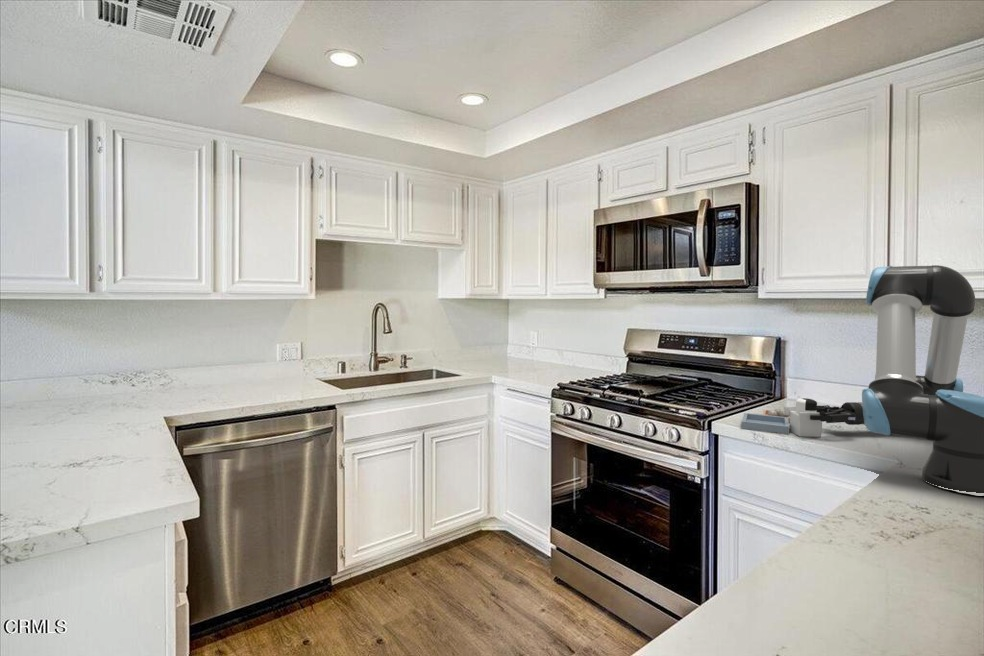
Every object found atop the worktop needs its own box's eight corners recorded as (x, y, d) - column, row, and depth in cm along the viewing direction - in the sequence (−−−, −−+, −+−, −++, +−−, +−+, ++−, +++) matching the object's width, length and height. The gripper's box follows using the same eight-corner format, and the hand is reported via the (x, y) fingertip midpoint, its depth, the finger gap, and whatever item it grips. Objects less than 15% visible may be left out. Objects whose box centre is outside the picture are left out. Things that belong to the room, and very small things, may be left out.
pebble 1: (777, 419, 188) (777, 411, 188) (767, 418, 190) (768, 410, 190) (777, 417, 191) (777, 410, 191) (768, 416, 193) (768, 409, 192)
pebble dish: (793, 423, 184) (793, 418, 184) (762, 420, 189) (762, 415, 189) (792, 417, 193) (793, 412, 193) (763, 414, 198) (763, 409, 198)
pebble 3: (788, 420, 187) (788, 412, 186) (778, 419, 188) (779, 411, 188) (788, 418, 189) (788, 411, 189) (778, 417, 191) (779, 410, 191)
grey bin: (788, 434, 171) (789, 426, 171) (741, 428, 178) (741, 421, 178) (788, 424, 184) (788, 417, 183) (743, 419, 191) (744, 412, 190)
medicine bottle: (810, 431, 175) (812, 397, 174) (821, 437, 168) (823, 401, 167) (788, 430, 175) (790, 396, 174) (799, 436, 168) (800, 401, 167)
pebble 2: (782, 418, 191) (782, 410, 190) (773, 417, 192) (773, 409, 192) (782, 416, 193) (782, 408, 193) (773, 415, 195) (773, 407, 194)
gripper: (881, 432, 161) (810, 433, 161) (837, 416, 182) (774, 416, 181) (882, 409, 161) (811, 410, 160) (838, 396, 181) (774, 396, 181)
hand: (791, 413), depth 171 cm, fingers closed on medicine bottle, 8 cm apart
